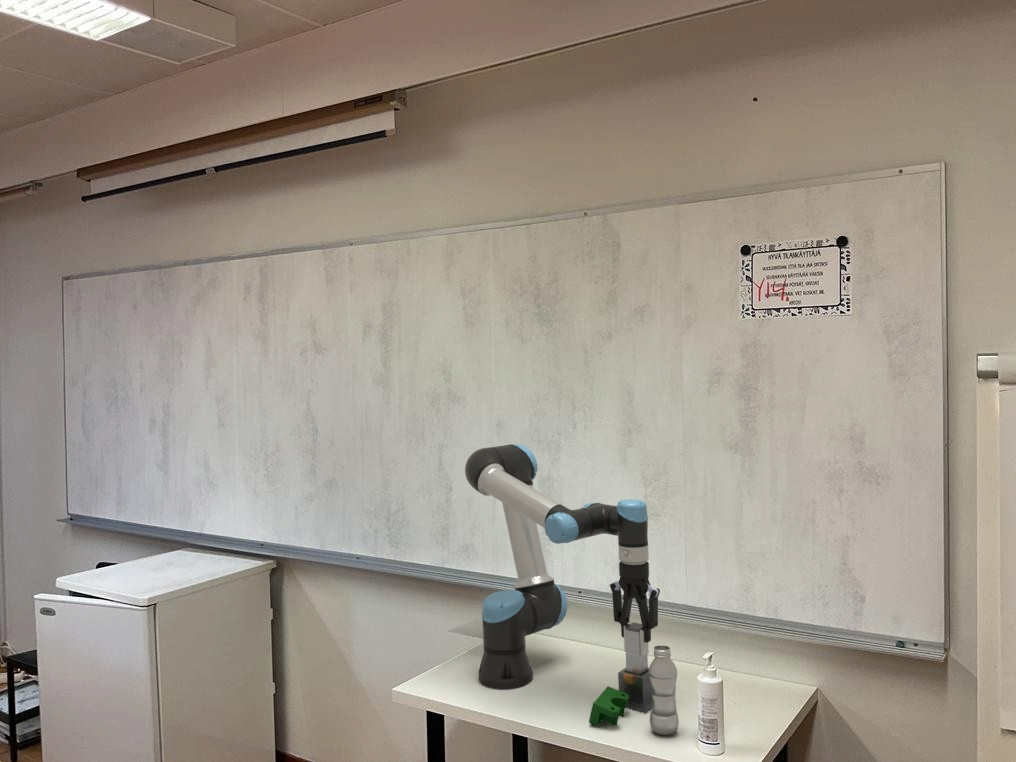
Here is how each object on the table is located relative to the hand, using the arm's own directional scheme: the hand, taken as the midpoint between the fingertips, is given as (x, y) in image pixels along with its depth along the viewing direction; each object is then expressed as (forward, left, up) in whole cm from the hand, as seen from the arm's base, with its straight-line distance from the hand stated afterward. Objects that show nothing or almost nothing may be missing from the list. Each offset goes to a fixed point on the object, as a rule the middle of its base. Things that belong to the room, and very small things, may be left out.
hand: (636, 652), depth 211 cm
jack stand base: (0, 0, -13) cm, 13 cm away
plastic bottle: (+14, -12, -13) cm, 22 cm away
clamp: (0, -13, -13) cm, 18 cm away
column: (0, 0, -8) cm, 8 cm away
